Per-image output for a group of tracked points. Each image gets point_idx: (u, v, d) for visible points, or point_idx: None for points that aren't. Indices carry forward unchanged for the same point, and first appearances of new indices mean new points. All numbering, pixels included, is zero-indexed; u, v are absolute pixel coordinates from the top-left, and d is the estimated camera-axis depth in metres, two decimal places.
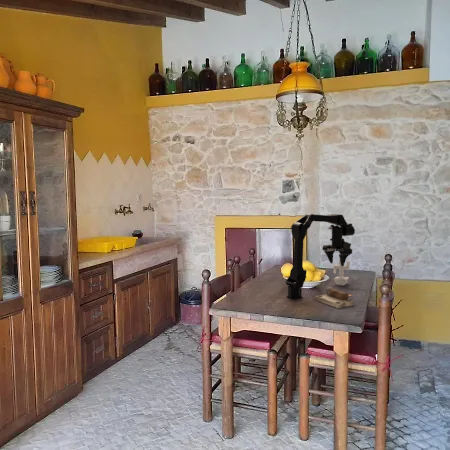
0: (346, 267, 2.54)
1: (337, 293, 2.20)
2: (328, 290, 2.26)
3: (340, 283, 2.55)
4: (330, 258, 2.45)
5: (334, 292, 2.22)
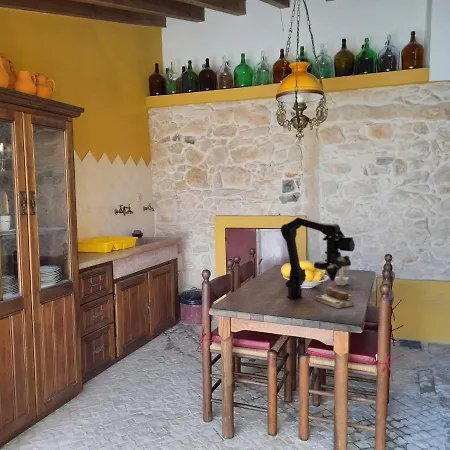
0: (346, 267, 2.54)
1: (337, 293, 2.20)
2: (328, 290, 2.26)
3: (340, 283, 2.55)
4: None
5: (334, 292, 2.22)
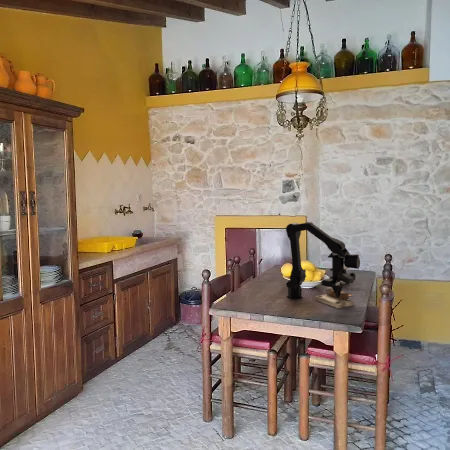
0: (346, 267, 2.54)
1: None
2: (328, 290, 2.26)
3: None
4: None
5: None
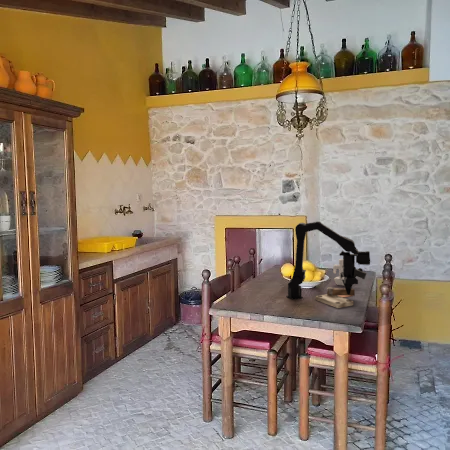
0: None
1: (345, 291, 2.24)
2: (331, 290, 2.26)
3: (340, 283, 2.55)
4: None
5: (340, 291, 2.25)
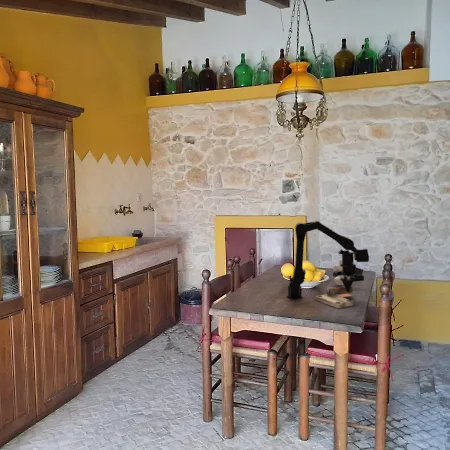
0: None
1: (344, 289, 2.28)
2: (332, 290, 2.26)
3: (340, 283, 2.55)
4: None
5: (340, 289, 2.27)
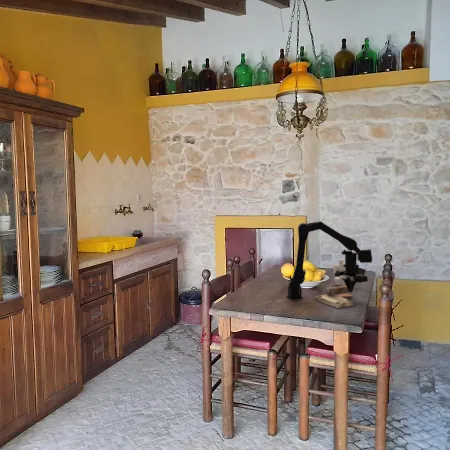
0: None
1: (343, 288, 2.29)
2: (333, 290, 2.26)
3: (340, 283, 2.55)
4: None
5: (339, 289, 2.28)
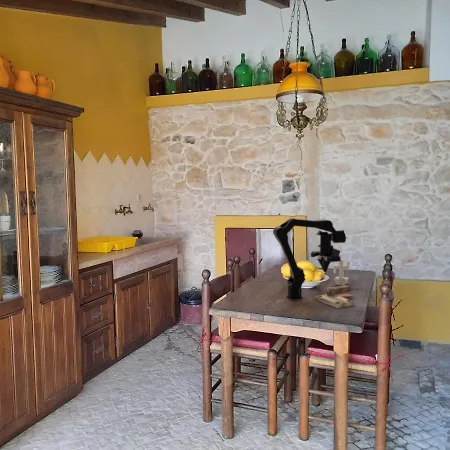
0: (346, 267, 2.54)
1: (343, 288, 2.29)
2: (333, 290, 2.26)
3: (340, 283, 2.55)
4: None
5: (339, 289, 2.28)
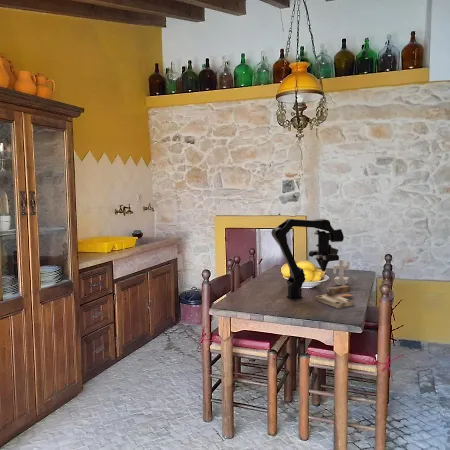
0: (346, 267, 2.54)
1: (343, 288, 2.29)
2: (333, 290, 2.26)
3: (340, 283, 2.55)
4: None
5: (339, 289, 2.28)
